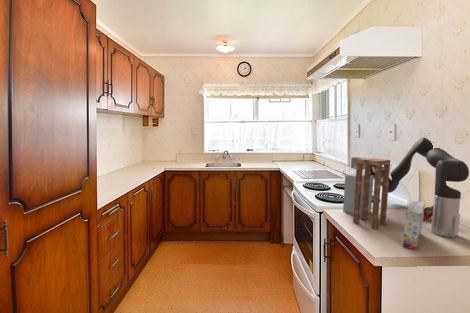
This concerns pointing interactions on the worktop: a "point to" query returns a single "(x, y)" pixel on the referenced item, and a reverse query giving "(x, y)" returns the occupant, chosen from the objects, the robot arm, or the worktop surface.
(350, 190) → the slate pedestal
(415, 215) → the snack box
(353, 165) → the metal bar
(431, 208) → the foo dog statuette
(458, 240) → the worktop surface
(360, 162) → the walnut stand
